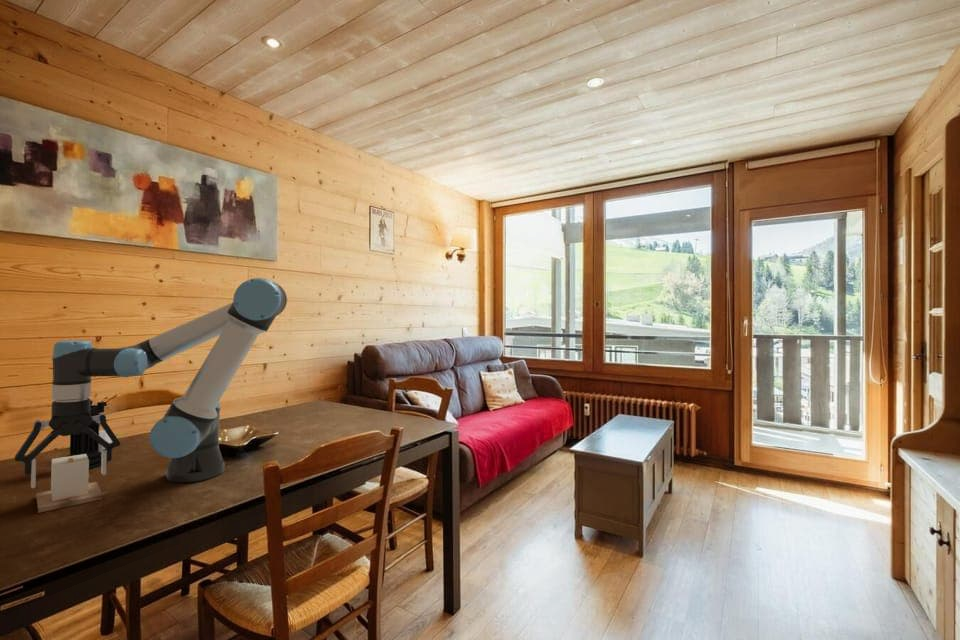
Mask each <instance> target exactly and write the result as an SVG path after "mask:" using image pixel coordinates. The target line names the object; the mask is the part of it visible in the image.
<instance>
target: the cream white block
mask: <svg viewBox="0 0 960 640" xmlns="http://www.w3.org/2000/svg"><path fill="white" fill-rule="evenodd" d="M67 456H68V455H67ZM50 470H51V472H50V478H51V479H50V491H51V496H52V501H56V500H61V499H66V498H69V497H75V496H80V495H85V494H88V483H89V475H90V473H89V472H90V470H89V459H88V457H87V455H86V454H81V455H75V456H68V457H65V456H64V457H56V458H51V468H50Z"/></svg>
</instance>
